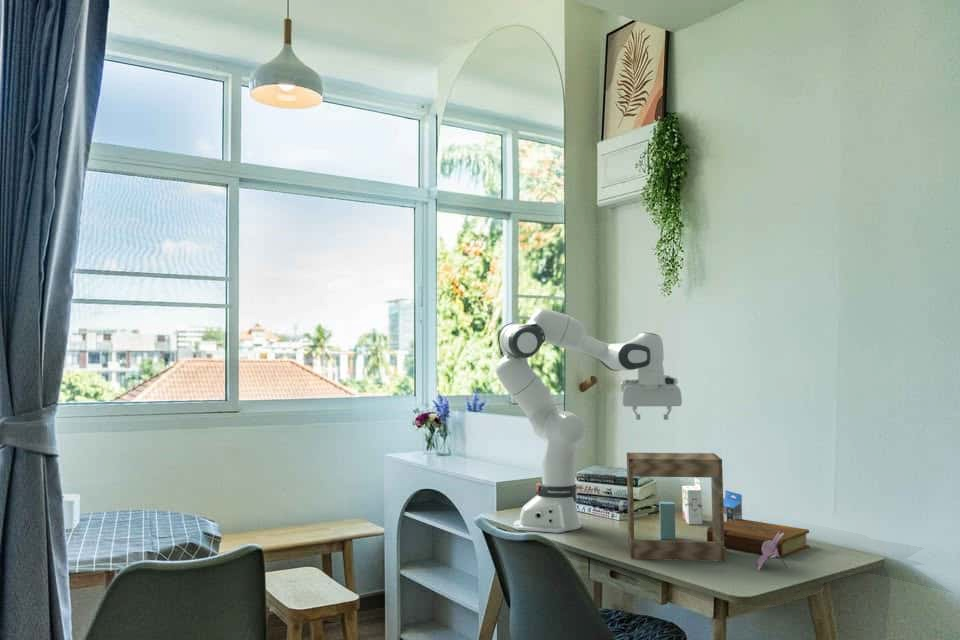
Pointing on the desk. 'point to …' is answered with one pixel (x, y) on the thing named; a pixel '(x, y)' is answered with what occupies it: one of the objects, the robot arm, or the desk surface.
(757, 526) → the diary
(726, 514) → the label tape cartridge
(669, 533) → the teal block
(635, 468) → the walnut cubby
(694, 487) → the ink cartridge box
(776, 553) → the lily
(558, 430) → the robot arm
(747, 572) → the desk surface
